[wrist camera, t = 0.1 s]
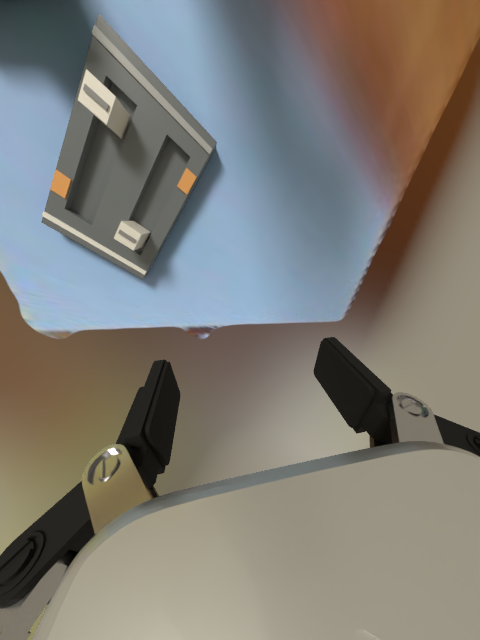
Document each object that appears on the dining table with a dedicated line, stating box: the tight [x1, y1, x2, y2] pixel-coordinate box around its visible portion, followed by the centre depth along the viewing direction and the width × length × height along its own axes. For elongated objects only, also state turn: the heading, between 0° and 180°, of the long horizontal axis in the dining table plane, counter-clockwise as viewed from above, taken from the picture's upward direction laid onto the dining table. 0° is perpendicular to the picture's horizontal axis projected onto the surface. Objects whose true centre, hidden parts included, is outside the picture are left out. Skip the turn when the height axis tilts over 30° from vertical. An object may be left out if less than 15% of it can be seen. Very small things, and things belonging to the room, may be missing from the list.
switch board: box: [42, 14, 217, 279], centre depth 28 cm, size 26×16×3 cm, turn 142°
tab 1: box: [78, 69, 132, 141], centre depth 22 cm, size 3×3×5 cm
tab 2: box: [114, 221, 151, 251], centre depth 29 cm, size 3×3×5 cm
